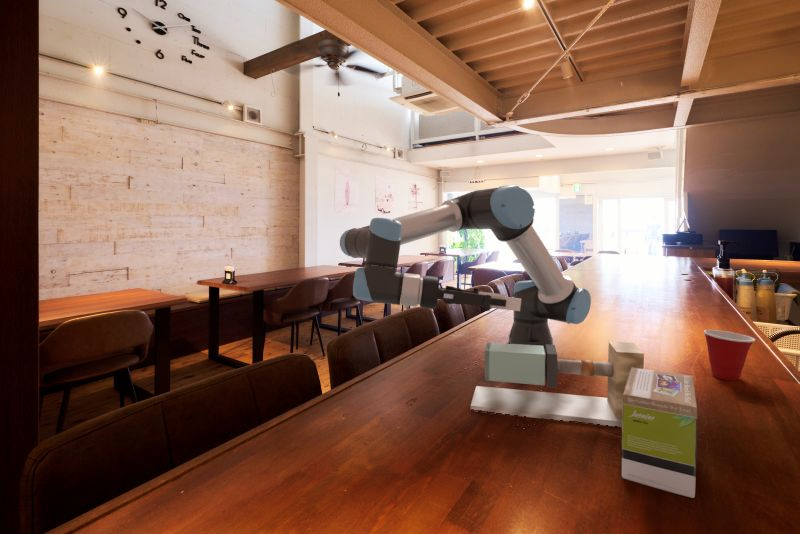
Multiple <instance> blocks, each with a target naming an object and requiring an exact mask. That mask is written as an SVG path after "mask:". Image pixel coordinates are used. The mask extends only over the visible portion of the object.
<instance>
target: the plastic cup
mask: <svg viewBox="0 0 800 534" xmlns="http://www.w3.org/2000/svg"><path fill="white" fill-rule="evenodd" d="M703 333H704V336H705V339H706V340H705V341H706V344H707V346H706V347H707V352H708V361H709V364H710V370H711V372H710V373H711V374H712V376H713V377H714V378H717V379H721V380H725V381H739V380H740V378H741V376H742V372H743V369H744V366H745V363H746V360H747V357H748V353H749V350H750V348H751V346H752V345H753V343H754V342H755V341H756V338H754V337H753V336H750V335H746V334H741V333H737V332H732V331H726V330H720V329H719V330H717V329H704V330H703Z"/></svg>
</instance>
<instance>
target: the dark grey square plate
mask: <svg viewBox="0 0 800 534" xmlns="http://www.w3.org/2000/svg"><path fill="white" fill-rule="evenodd" d="M544 352H545V358H547V372H545V382H546V388H548V389H549V388H550V389H558V373H557V359H558V352H557V350H556V345H555V344H553V345H549V344H545V349H544Z"/></svg>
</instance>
